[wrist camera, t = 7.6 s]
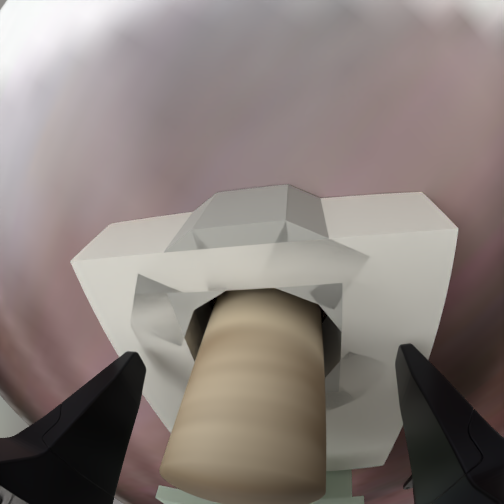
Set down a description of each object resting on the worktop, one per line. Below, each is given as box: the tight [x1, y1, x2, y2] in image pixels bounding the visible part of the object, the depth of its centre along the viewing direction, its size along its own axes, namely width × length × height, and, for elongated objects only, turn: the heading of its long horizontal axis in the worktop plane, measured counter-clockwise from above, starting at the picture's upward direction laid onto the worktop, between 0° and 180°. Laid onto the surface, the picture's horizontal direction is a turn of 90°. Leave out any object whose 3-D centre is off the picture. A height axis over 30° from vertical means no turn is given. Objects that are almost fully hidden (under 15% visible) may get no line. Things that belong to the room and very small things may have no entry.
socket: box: [70, 184, 458, 471], centre depth 13 cm, size 17×12×3 cm
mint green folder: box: [155, 469, 364, 504], centre depth 15 cm, size 6×10×7 cm, turn 99°
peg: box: [159, 288, 326, 504], centre depth 9 cm, size 4×4×8 cm
